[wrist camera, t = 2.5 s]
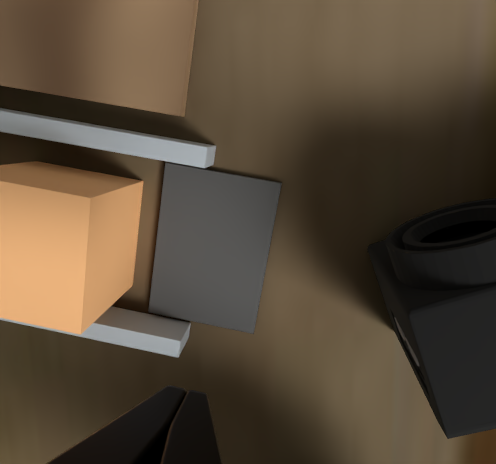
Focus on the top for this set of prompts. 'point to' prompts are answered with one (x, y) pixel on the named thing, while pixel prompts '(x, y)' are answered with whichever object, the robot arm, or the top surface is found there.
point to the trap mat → (212, 246)
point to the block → (65, 243)
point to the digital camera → (446, 308)
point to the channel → (132, 143)
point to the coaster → (101, 50)
